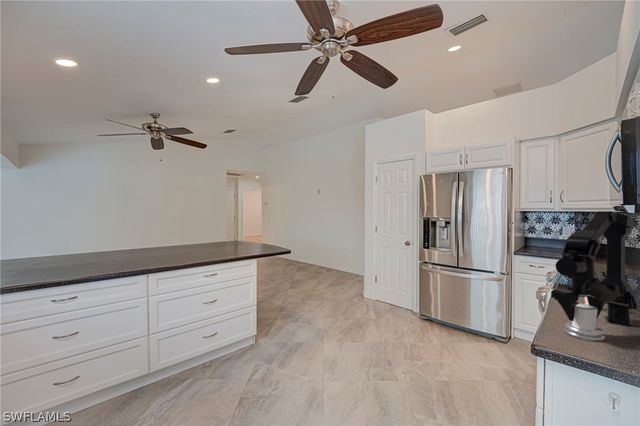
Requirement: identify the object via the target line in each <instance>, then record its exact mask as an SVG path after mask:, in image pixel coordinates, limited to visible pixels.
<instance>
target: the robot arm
mask: <svg viewBox="0 0 640 426" xmlns="http://www.w3.org/2000/svg"><path fill="white" fill-rule="evenodd" d="M634 226H635V221H634V218H632V217H631V216H629V215H628V214H622V213H618V212H615V211H612V210H611V211H608V210H607V211H604V210H603V211H599V210H598V211H595V212H594V214H593V217H592V218H591V219H590V220H589V221H588V223H587V224H586V225H585V227H583V229H581V230H580V231H576V232H573V233H572V234H571V235H569V236H568V237H567V239H566V240H565V242H564V245H563V248H562V251H561V252H560V253H561V254H560V255H561V256H562V258H560V259H558V260H557V261H556V263H555V266H554V267H555V270H556V271H557V272H558V274H560V275H562V276H564V277H567V279H570V281H571V283H570V284H571V285H570V286H567V289H565V288H555V289H554V288H553V289H552V290H551V291H550V297H551V298H553V299H554V300H555V301H557V302H558V304H559V305H560V307H561V309H562V310H563V312H564V314H565V315H566V317H567V319H568V320H569V322H572V321H574V314H575V306H576V305H577V304H579V303H580V302H578V301H579V299H580V298H584V297H587V300H588V303H589V305H591V306H594V307H596V308H598V311H597V319H596V320H598V318H599V316H600V315H601V313H602V310H603V308H604V306H605V305H606V308H607V311H606V313H607V315H604V319H605V320H606V321H607V322H608V323H610V324H611V323H612V324H617V325H623V326H627V327H628V326H629V327H634V324H633V323H632V322H631V311H632V310H638V306H639V305H638V304H639V302H638V300H637V298H636V296H635V295H634V293H633V291H632V288H633V287H632V286H631V285H630V284H629V282H628V280H627V279H626V239H627V238H629V235H630V234H632V231H633V228H634ZM602 236H604V237H605V238H606V277H605V278H604V279H603V280H602V281H600V278H599V277H595V276H596V275H595V273H596V272H595V260H596V259H597V257H596V256H597V254H598V252H599V250H600V248H601V244H600V241H599V239H600V238H601V237H602Z"/></svg>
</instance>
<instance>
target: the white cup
mask: <svg viewBox="0 0 640 426" xmlns="http://www.w3.org/2000/svg"><path fill="white" fill-rule="evenodd" d="M578 303H579V304H577V305H576V306H575V314H574V321H571V322H572V325H573V326H574V327H576V328H579V329H584V330H595V328H596V327H597V320H598V319H597V311H598V308H596V307H594V306H591V305H586V304H585V303H580V302H578Z"/></svg>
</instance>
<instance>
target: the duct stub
mask: <svg viewBox="0 0 640 426" xmlns="http://www.w3.org/2000/svg"><path fill="white" fill-rule="evenodd" d="M563 333H565V334H567V335H568V336H570V337H573V338H576V339H580V340H583V341H587V342H595V343H596V342H597V343H599V342H604V341H605V340H606V335H605V334H604V333H603V329H602V328H601V327H598V326H596V328H595V330H584V329H579V328H576V327H574V326H573V325H572V321H566V322H565V326H564V327H563Z"/></svg>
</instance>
